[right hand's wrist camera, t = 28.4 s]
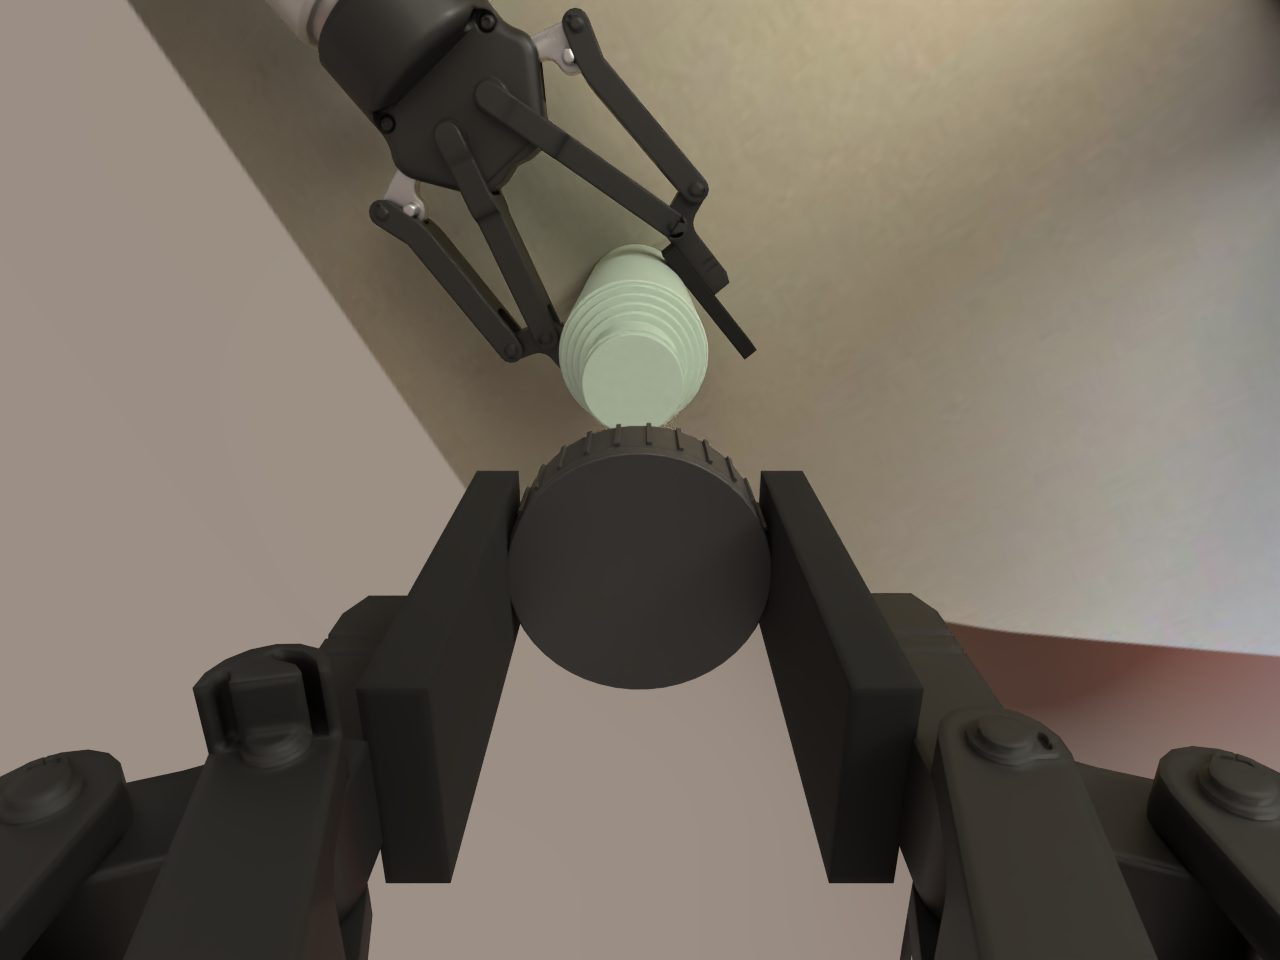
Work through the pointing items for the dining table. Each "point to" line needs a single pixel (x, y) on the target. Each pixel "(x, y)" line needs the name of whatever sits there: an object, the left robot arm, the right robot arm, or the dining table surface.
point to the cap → (639, 558)
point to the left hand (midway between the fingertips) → (698, 387)
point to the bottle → (633, 341)
